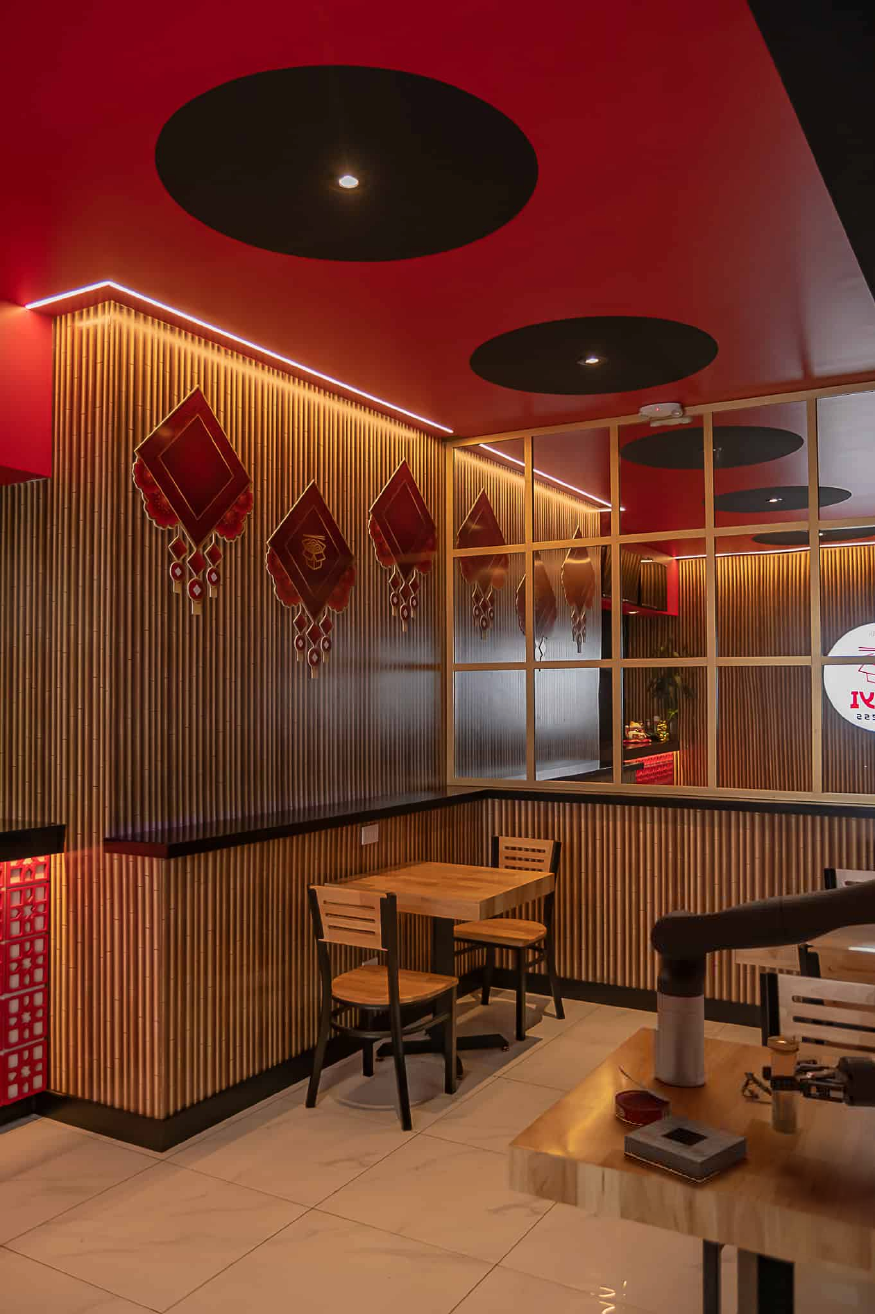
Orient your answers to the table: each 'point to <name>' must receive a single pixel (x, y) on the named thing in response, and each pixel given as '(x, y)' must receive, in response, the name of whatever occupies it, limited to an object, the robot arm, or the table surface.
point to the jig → (686, 1146)
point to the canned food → (641, 1105)
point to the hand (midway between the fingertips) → (767, 1078)
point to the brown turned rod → (759, 1084)
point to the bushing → (784, 1100)
